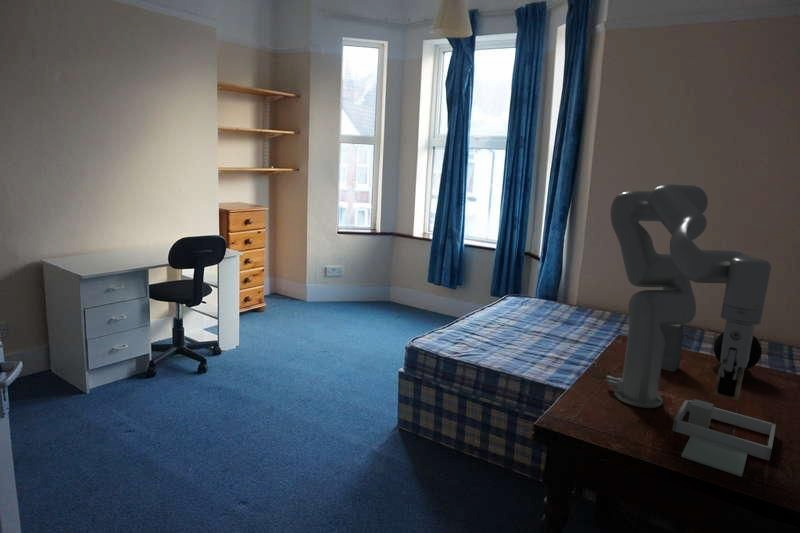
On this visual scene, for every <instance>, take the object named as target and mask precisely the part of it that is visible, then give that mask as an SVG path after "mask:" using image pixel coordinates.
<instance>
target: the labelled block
mask: <svg viewBox="0 0 800 533" xmlns="http://www.w3.org/2000/svg"><path fill="white" fill-rule="evenodd" d="M722 370H723V364H721V366H720V368H719V371H718V375H717V377H716V382H715V387H714V388H715V389H714V396H718V397H722V398H726V399H730V400H733V401H738V400H739V397H740V395H741V390H742V383H743V381H742V379H743V374H744V369H741V368H738V371H737V376H736V380H737V384H736V389H735V395H734V397H730V396H726V395H722V394H719V393H718V386H719V381H720V376H721V375H722ZM733 370H734V371H735V369H734V368H733Z"/></svg>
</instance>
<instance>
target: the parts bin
mask: <svg viewBox="0 0 800 533" xmlns="http://www.w3.org/2000/svg"><path fill="white" fill-rule="evenodd" d="M692 402H693V400H690V399H687V398H686V399H685V400H684V402H683V403H682V405H681V407H680V408H679V410H678V412H677V413H676V415H675V417H674V419H673V422H672V428H671V431H672V432H675V433H679V434H681V435H685V436H688V437H690V436H691V435H694V436H698V437H701V438H704V439H707V440H710V441H714V442H717V443H720V444H723V445H727V446H730V447H733V448H736V449H740V450H743V451H746V452H748V454H747V455H749V456H752V457H756V458H759V459H762V460H766V461H768V462H770V459H771V455H772V449H773V444H774V440H775V439H774V437H775V434H776V428H777V427H776V426H777V424H776V423H773V422H770V421H765V420H762V419H759V418H755V417H751V416H748V415H744V414H740V413H736V412H733V411H731V410H726V409H722V408H718V407H716V406H713V411H712V416H711V420H712V419H713V420H716V421H719V422H722V423H725V424H729V425H733V426H736V427H740V428H743V429H747V430H749V431H750V430H751V431H753V432H757V433H761V434H763V435H768V436H769V438H768V443H767V445H764V444H762V443H757V442H754V441H751V440H748V439H744V438H741V437H738V436H735V435H732V434H727V433H724V432H721V431H718V430H716V429H715V430H714V429H711V428H709V429H708V428H705V427H701V426H698V425H695V424H691V423H688V421H684V420H683V419H684V416H685V415H686V413H687V412H689V413H690V408H691V404H692Z"/></svg>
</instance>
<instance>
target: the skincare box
mask: <svg viewBox="0 0 800 533" xmlns="http://www.w3.org/2000/svg"><path fill="white" fill-rule="evenodd" d="M660 330H661V332H662V334H663V336H664V339H665V347H664V354H663V360H662V367H661V370H663V371H664V370H665V371H667V372H673V373H675V372H676V371H677V370H678V368H680V365H681V359H682V349H683V340H684V330H685V324H680V325H660Z"/></svg>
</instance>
